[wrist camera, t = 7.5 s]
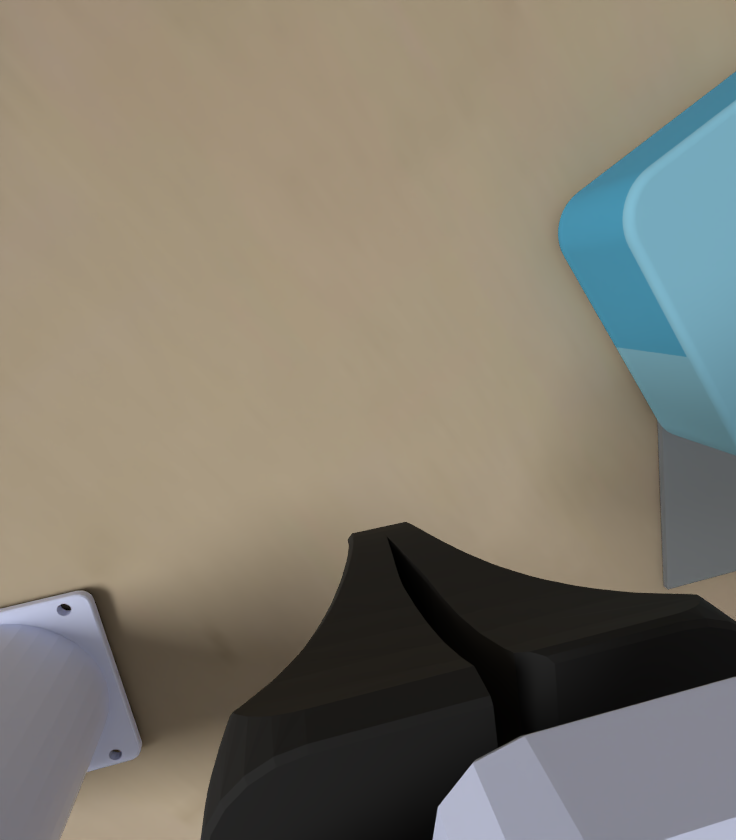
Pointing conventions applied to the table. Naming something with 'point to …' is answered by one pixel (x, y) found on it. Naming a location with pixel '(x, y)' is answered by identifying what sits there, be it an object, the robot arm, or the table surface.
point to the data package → (669, 266)
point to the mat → (696, 510)
